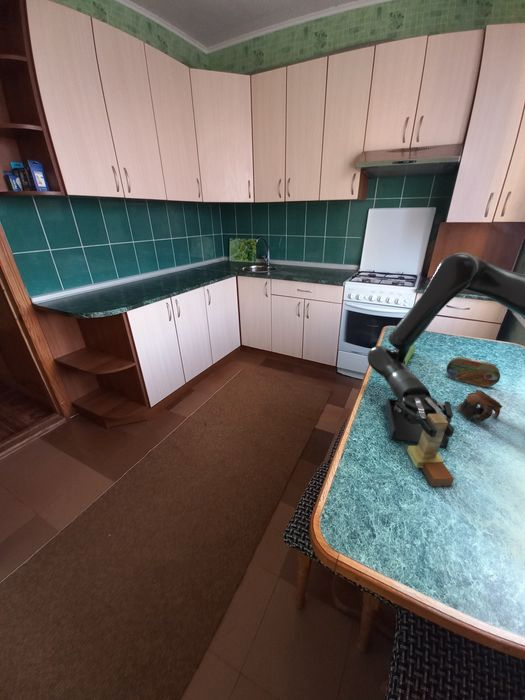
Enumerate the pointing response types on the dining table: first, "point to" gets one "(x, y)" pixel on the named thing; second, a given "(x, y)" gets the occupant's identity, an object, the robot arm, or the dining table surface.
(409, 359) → the edible corn
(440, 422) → the pillar on square base
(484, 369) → the tin
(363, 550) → the dining table surface
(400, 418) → the pan
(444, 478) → the brown square block
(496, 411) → the pottery mug
